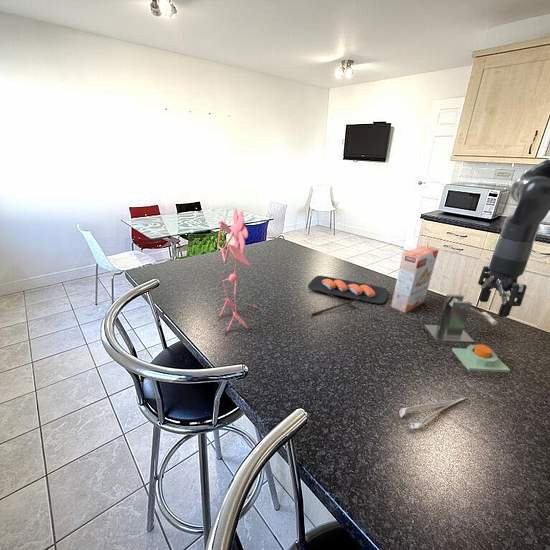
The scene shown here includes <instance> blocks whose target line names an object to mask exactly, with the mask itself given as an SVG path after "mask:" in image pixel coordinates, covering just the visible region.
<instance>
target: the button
mask: <svg viewBox="0 0 550 550" xmlns="http://www.w3.org/2000/svg"><path fill="white" fill-rule="evenodd" d="M475 345H476V346H475V349H474V353H475V354H476V355H478V356H480V357H483V358H490V356H491V353H492V351H493V350H492V348H491V347H489V346H487V345H485V344H481V343H480V344H479V343H478V344H475Z"/></svg>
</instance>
